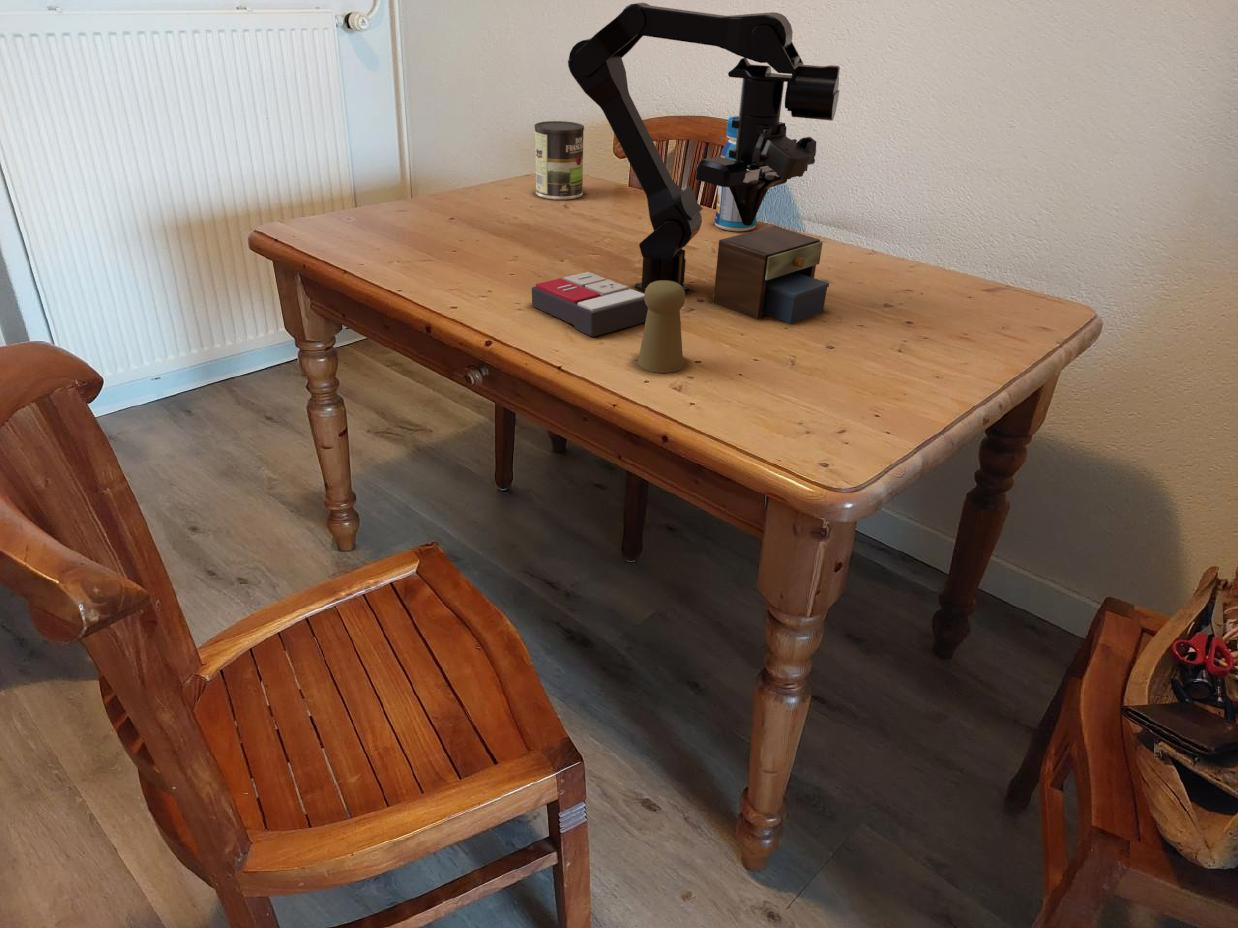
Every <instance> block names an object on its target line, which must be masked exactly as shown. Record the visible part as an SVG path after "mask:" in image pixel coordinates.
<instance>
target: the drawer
mask: <svg viewBox="0 0 1238 928" xmlns="http://www.w3.org/2000/svg"><path fill="white" fill-rule="evenodd" d="M823 243H824V242H823V241H820V242H818V243H814V244H811V245H808V246H804V247H801V248H797V249H794V250H790V251H787V252H784V253H780V254H777V255H773V256H770V257H768V260H767V268H766V276H765V280H770V279H773V278H776V277H779V276H782V275H786V274H789V273H792V272H795V271H798V270H801V269H805V268H808V267H811V266H814V265H816V266H817V265H820V262H821V256H822V250H823V245H824V244H823Z"/></svg>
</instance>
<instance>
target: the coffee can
mask: <svg viewBox="0 0 1238 928" xmlns="http://www.w3.org/2000/svg"><path fill="white" fill-rule="evenodd" d="M584 131H585V125H584V124H581V123H578V122H574V121H566V120H565V121H562V120H549V121H540V122H536V123H535V124H534V133H535V134H534V135H535V136H534V137H535V138H534V139H535V140H534V141H535V143H534V145H535V146H534V148H535V150H534V151H535V195H536V196H538V197H540V198H542V199H547V200H557V201H558V200H559V201H565V200H574V199H578V198H580V197H583V195H584V192H583V191H584V189H583V181H584V178H583V177H584Z"/></svg>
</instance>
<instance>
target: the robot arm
mask: <svg viewBox="0 0 1238 928" xmlns="http://www.w3.org/2000/svg"><path fill="white" fill-rule="evenodd" d="M793 33H794V32H793V28H792V25H791V23H790V21H789V19H788V18H787V17H786V16H785V15H784V14H782V13H779V12H775V11H774V12H758V13H757V12H755V13H746V14H735V15H734V14H733V15H732V14H731V15H723V14H717V13H716V14H715V13H708V12H700V11H695V10H694V11H693V10H686V9H678V8H671V7H663V6H658V5H651V4H648V3H647V2H636V3H630V4H628V5H626V7H624V9H622V11H621V12H620V13H619V14H618V15H617V16H616V17H615V18H613V20H611V21H610V22H608V23H607V24H606V25H604V26H603V27H602V28H601V29H600V30H599V31H598V32H596V33H595V34H594V35H593V36H592V37H591V38H586V39H582V40H579V41H578V42H576V44H574V45H573V46H572V47H571V50H570V52H569V55H568V60H567V66H568V70H569V72H570V74H571V76H572V78H573V79H574V80H575V81H576V83H577V85H579V87H580V89H581V90H582V92H584V94H585V95H586V96H587V97H589V99H591V100H592V101H593V102H594V103H595V104H596V105H598V107H599V108H600V109H601V111H602V113H603V115H604V116H605V119H606V120H607V122H608V124H609V126H610V128H611V130H612V132H613V134H614V136H615V138H616V140H617V141H618V143H619V145H620V147H621V149H622V151H623V153H624V155H625V157H626V159H627V161H628V164H629V165H630V167H631V168H632V170H633V172H634V174H635V176H636V179H637V181H638V182H639V184H640V186H641V188H642V191H643V193H644V194H645V196H646V200H647V208H648V215H649V221H650V224H651V227H652V229H653V231H652V232H651V233H650V234H649V235H647V236H646V237H645V238H644V239H643V240H642V241H641V242H640V243H639V244H638V246H639V249H640V253H641V257H642V269H641V271H642V272H641V282H638V283H635V284H634V288H635V289H637V290H640V291H642V292H645V290H646V288H647V286H648V285H649V284H650V283H652V282H655V281H662V280H665V281H673V282H676V283H678V284H680V285H681V286H682V287H683V289H684V291H685V292H688V291H690V290H691V289H690V286H688V285H685V284H684V283H685V273H686V262H687V261H686V250H685V249H683V248H685V247H686V246H687V245H688V244H689V243H690V241H691V240H693V238H694V237H696V235H697V234H698V233H699V232H700V230H701V227H702V223H703V217H702V214H701V211H702V210H703V209H704V208H703V207H702V206H701V205H700V204H699V203H698V201H697V199H696V197H695V193H694V191H693V188H692V186H691V185H688V186H686V187H685V188H683V189H682V187H680V186H679V185H678V184H677V183H676V182H675V181H674V180H673V179H672V176H671V175H670V173H669V170H668V168H667V166H666V165H665V162H664V160H663V158H662V156H661V154H660V153H659V151H658V148H657V147H656V144H655V142H654V140H653V139H652V136H651V134H650V133H649V130H648V128H647V127H646V125H645V123H644V121H643V118H642V116H641V114H640V113H639V111H638V109H637V106H636V105H635V103H634V101H633V98H632V96H631V94H630V91H629V85H628V78H627V71H626V68H625V64H624V62H623V61H624V60H623V58H624V57H625V56H626V55H627V54H628V53H629V52H630V51H631V50H632V49H633V48H634V47H635V46H636V45H637V43H638V42H639V41H640V40H641V39H642V38H643V37H649V38H650V37H651V38H657V39H662V40H663V39H664V40H669V41H670V40H671V41H678V42H685V43H691V44H698V45H705V46H713V47H717V48H720V49H723V50H726V51H728V52H730V53H732V54H733V55H736V56H739V57H742V58H741V59H740V60H739V61H738V62H737V64H736V65H735V66H734V67H733V68H732V69H731V70H729V71H728V73H727V75H728V77H729V78H735V79H736V78H737V79H742V81H741V82H742V83H741V91H740V100H739V110H738V111H739V112H738V116H739V119H735V120H732V128H737V129H738V130H737V140H736V149H733V150H729V158H733V159H736V161H734V160H730V159H726V158H722V157H720V156H715V157H714V156H713V157H708V158H702V159H701V160H700V161H699V162H698V163H697V164H696V171H695V172H696V173H695V180H696V181H700V182H703V183H707V184H711V185H714V186H717V187H718V186H721V187H729V188H730V191H731V193H732V195H733V197H734V200H735V203H736V206H737V209H738V211H739V214H740V217H741V220H742V223H743V225H746V226H749V225H752V223H753V221H754V219H755V216H756V217H757V215H758V212H759V210H760V208H761V205H762V203H763V200H764V199H765V196H766V195H767V193H768V191H769V189H771V188H772V187H774V186H775V185H776V184H777V183H779V182H782V181H783V180H787V181H788V180H791V179H793V178H797V177H798V178H802V177H803V176H804V174H805V172H807V171H808V167H809V165H810V166H811V165H814V164H815V163H816V159H815V157H816V155H817V141H816V140H815V139H814V138H812V137H811V136H805V137H802V138H800V139H799V140H797V139H796V138H795V139H794V138H793V139H791V138H789V137H788V136H787V126H786V122H783V121H782V122H781V121H780V120H781V112H782V111H781V110H782V103H783V95H784V88H786V89H785V95H784V109H787V112H790V116H791V117H792V118H799V119H810V120H821V121H831V122H832V121H834V119H835V116H836V112H837V108H838V102H839V96H840V89H839V85H840V70H841V67H840V65H830V64H829V65H823V66H822V65H814V64H813V65H811V64H804V61H803V60H802V58H801V55H800V54H799V52H798V50H797V48H796V46H795V44H794V42H793ZM748 60H750V61H753V62H756V63H760V64H752V63H750V62H749V61H748ZM763 64H767V65H763ZM772 69H773V70H774V71H775V72H776V73H774V72H772ZM785 82H786V87H785ZM747 166H748V167H747ZM756 214H757V215H756Z"/></svg>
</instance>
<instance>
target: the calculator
mask: <svg viewBox="0 0 1238 928" xmlns="http://www.w3.org/2000/svg"><path fill="white" fill-rule="evenodd" d="M644 296H645V293H643V292H641V291H638V290H635V289H633V288H629V286H628V285H624V284H622V283H619V282H616V281H615V280H614V281H613V280H612V279H607V278H606V277H603V276H600V275H597V274H595V273H592V272H589V271H585V272H581V273H576V274H573V275H572V274H571V275H567V276H564V277H563V278H561V277H560V278H555V279H551V280H550V279H549V280H547V281H542V282H537V283H535V286H532V287H531V304H532V305H531V306H532V308H535V309H537V310H540V311H542V312H544V313H546V314H549V315H550V316H554V317H556V318H558V319H559V320H562V321H565V322H567V323H569V324H571V325H573V326H574V329H576V331H578V332H580V333H583V334H585V335H587V336H590V337H598V336H601V335H605V334H608V333H612V332H615V331H619V330H623V329H625V328H629V327H632V326H633V327H634V326H636V325H640V324H645V322H646V317H647V312H648V307H647V305H646V304H645V300H644Z"/></svg>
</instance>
